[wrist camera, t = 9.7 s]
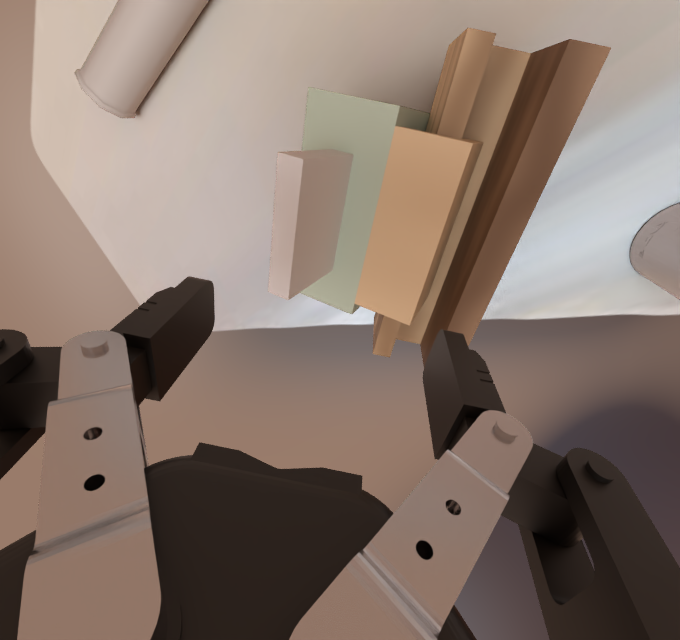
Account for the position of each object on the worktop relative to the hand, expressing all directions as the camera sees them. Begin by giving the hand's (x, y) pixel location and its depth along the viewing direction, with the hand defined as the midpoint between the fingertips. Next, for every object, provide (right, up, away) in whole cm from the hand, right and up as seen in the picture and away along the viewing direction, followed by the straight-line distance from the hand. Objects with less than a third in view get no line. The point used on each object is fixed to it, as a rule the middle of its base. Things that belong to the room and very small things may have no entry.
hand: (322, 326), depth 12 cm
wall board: (+13, +15, +27) cm, 33 cm away
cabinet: (+6, +11, +19) cm, 23 cm away
